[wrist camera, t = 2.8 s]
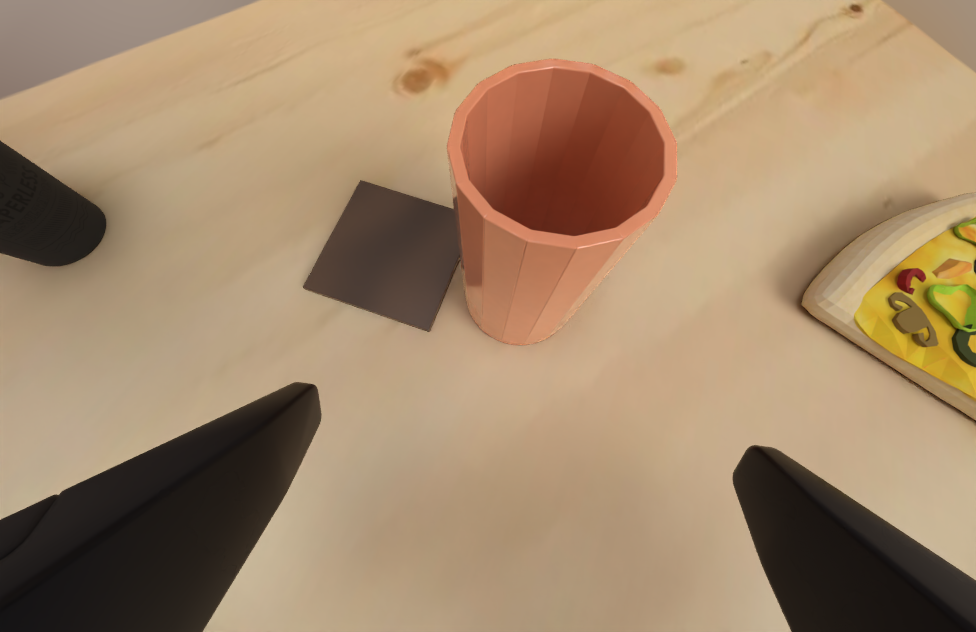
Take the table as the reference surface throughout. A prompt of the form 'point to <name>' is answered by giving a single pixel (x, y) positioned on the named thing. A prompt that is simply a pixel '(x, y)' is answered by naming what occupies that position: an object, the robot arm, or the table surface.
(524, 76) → the peach cup
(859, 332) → the pizza slice
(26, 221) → the drinking cup
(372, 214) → the walnut coaster
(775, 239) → the table surface
